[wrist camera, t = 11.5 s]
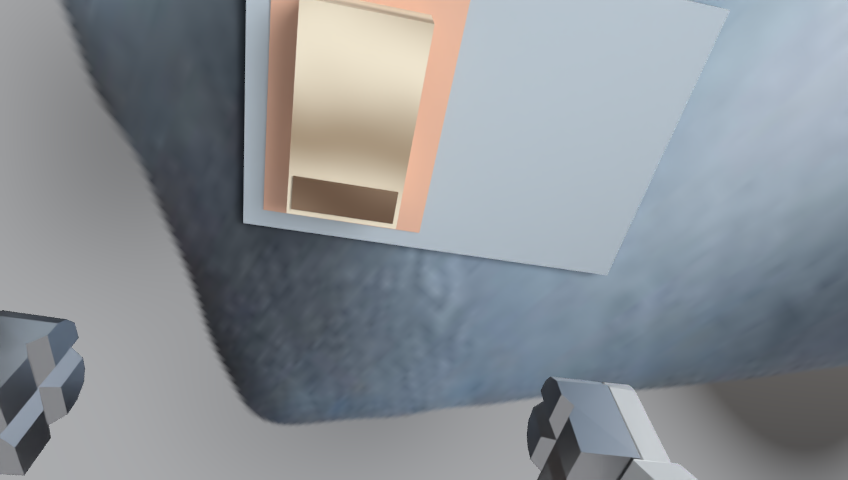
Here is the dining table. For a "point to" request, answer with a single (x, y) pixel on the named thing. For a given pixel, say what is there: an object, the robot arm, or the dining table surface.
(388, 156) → the cream curved ramp
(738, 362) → the dining table surface
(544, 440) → the robot arm
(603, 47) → the mat
